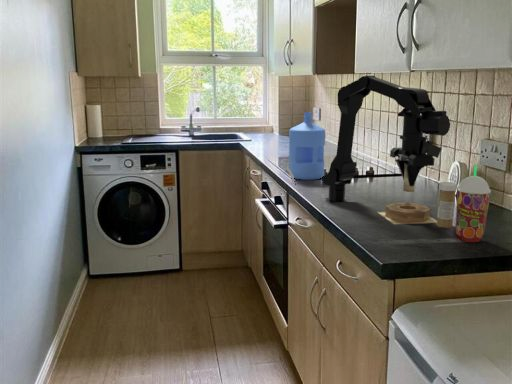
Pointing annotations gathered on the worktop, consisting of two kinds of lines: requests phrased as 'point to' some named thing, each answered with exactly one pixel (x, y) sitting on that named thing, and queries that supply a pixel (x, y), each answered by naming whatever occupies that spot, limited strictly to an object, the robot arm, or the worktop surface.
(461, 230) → the smoothie
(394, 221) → the board
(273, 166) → the worktop surface
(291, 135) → the water jug
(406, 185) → the cream banded cylinder
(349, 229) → the worktop surface
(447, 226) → the sprinkles bottle
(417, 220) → the bead
